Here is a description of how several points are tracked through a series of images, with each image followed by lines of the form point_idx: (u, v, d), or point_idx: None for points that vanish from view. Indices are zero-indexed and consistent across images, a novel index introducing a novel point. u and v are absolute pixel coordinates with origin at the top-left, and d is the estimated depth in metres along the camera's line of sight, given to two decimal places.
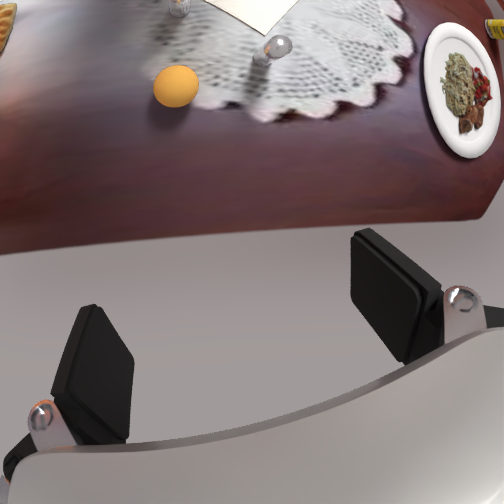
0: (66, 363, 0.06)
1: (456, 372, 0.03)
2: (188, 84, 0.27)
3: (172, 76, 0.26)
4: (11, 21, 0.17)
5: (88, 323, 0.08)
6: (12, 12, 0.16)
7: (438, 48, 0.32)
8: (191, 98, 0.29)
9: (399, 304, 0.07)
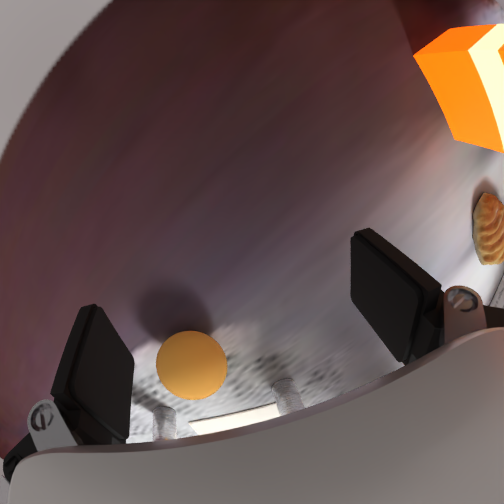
0: (66, 363, 0.06)
1: (456, 372, 0.03)
2: (179, 396, 0.18)
3: (206, 393, 0.18)
4: (479, 249, 0.24)
5: (88, 323, 0.08)
6: (482, 257, 0.25)
7: None
8: None
9: (399, 304, 0.07)
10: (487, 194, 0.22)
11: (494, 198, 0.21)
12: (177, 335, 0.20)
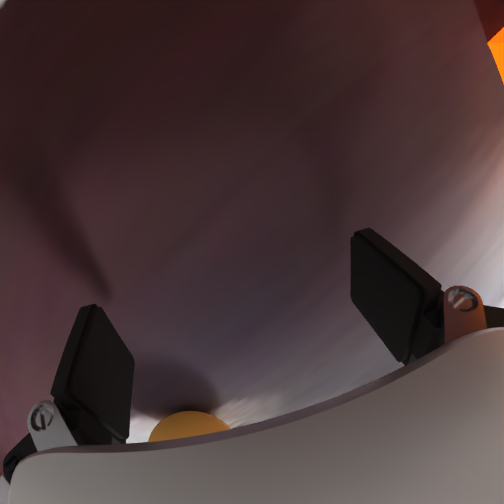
0: (66, 363, 0.06)
1: (456, 372, 0.03)
2: None
3: None
4: None
5: (88, 323, 0.08)
6: None
7: None
8: None
9: (399, 304, 0.07)
10: None
11: None
12: (172, 423, 0.13)
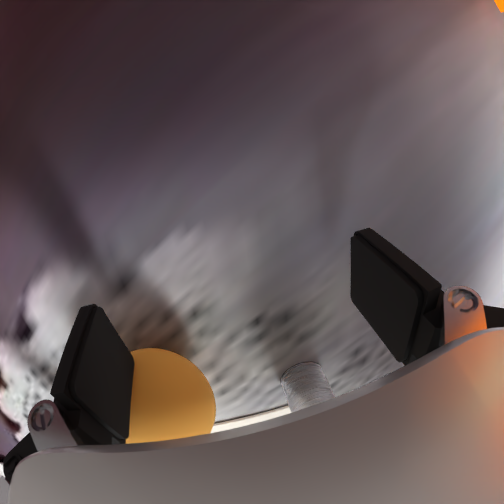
0: (66, 363, 0.06)
1: (456, 372, 0.03)
2: None
3: None
4: None
5: (88, 323, 0.08)
6: None
7: None
8: None
9: (399, 304, 0.07)
10: None
11: None
12: (132, 439, 0.08)
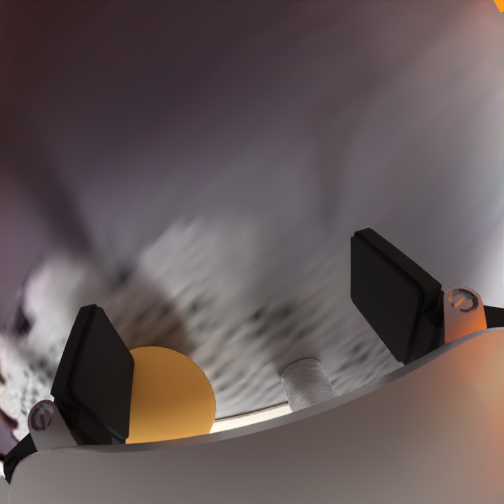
0: (66, 362, 0.06)
1: (456, 372, 0.03)
2: None
3: None
4: None
5: (88, 323, 0.08)
6: None
7: None
8: None
9: (399, 304, 0.07)
10: None
11: None
12: (134, 439, 0.08)
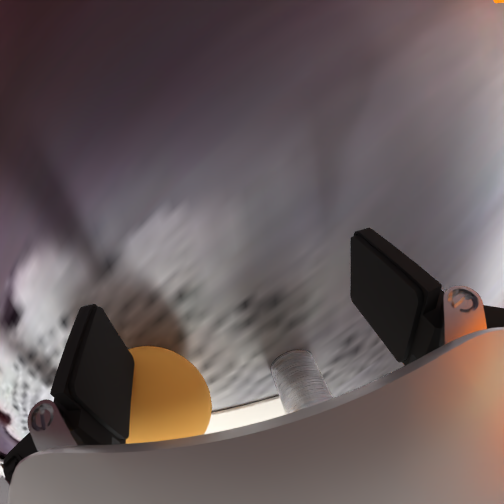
0: (66, 363, 0.06)
1: (456, 372, 0.03)
2: None
3: None
4: None
5: (88, 323, 0.08)
6: None
7: None
8: None
9: (399, 304, 0.07)
10: None
11: None
12: None
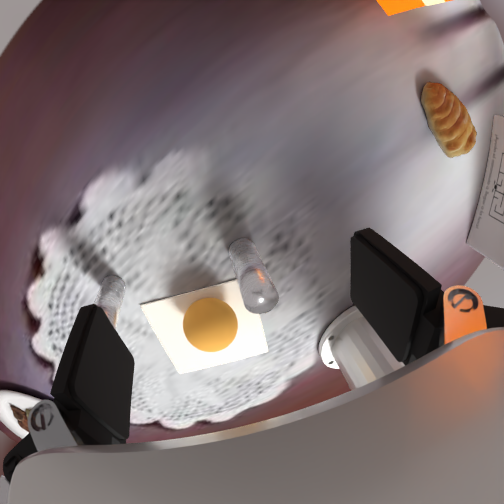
0: (66, 363, 0.06)
1: (456, 372, 0.03)
2: (187, 332, 0.25)
3: (200, 318, 0.25)
4: (438, 137, 0.25)
5: (88, 323, 0.08)
6: (445, 147, 0.25)
7: None
8: None
9: (399, 304, 0.07)
10: (432, 83, 0.22)
11: (439, 84, 0.21)
12: None
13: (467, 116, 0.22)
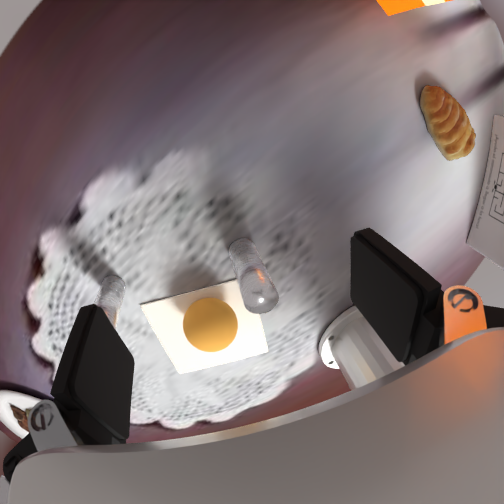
0: (66, 363, 0.06)
1: (456, 372, 0.03)
2: (187, 332, 0.25)
3: (200, 318, 0.25)
4: (437, 140, 0.25)
5: (88, 323, 0.08)
6: (444, 150, 0.25)
7: None
8: None
9: (399, 304, 0.07)
10: (430, 86, 0.22)
11: (437, 87, 0.21)
12: None
13: (466, 119, 0.22)
